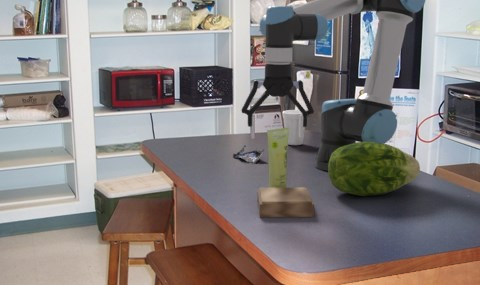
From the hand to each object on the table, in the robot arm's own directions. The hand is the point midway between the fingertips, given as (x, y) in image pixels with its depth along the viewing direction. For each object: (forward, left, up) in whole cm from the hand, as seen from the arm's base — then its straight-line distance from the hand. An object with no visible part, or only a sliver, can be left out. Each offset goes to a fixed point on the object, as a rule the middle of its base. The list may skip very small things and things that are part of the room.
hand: (276, 138), depth 178 cm
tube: (0, 0, -17) cm, 17 cm away
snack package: (+7, -44, -17) cm, 48 cm away
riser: (-1, +13, -17) cm, 21 cm away
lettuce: (-28, 0, -17) cm, 33 cm away
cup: (-12, -68, -17) cm, 71 cm away
